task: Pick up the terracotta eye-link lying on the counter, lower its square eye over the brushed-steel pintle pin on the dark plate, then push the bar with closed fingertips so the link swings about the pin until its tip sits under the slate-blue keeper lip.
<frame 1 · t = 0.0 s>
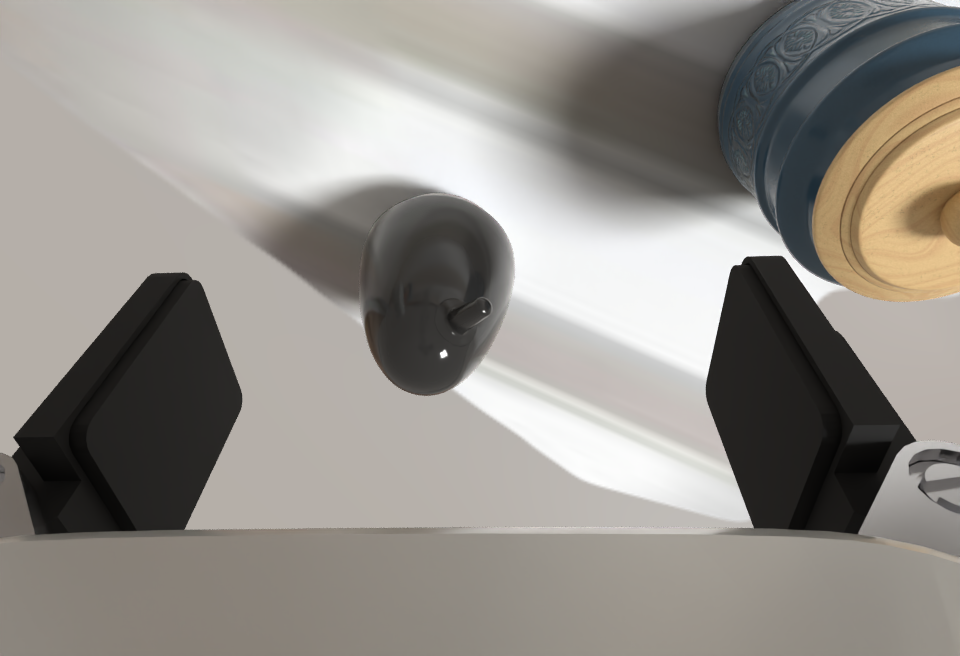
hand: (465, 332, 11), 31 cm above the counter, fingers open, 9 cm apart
canister: (819, 94, 39), on the counter
pump dispenser: (444, 236, 46), on the counter
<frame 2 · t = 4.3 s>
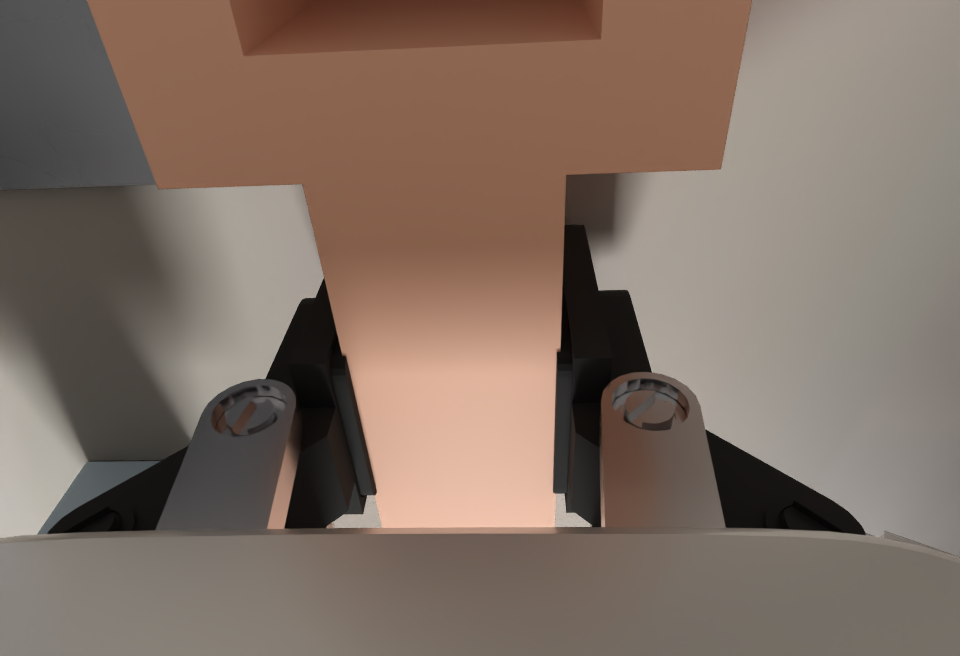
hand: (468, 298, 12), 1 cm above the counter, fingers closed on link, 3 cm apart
link: (469, 284, 13), on the counter, touching gripper
keeper: (160, 492, 17), on the counter
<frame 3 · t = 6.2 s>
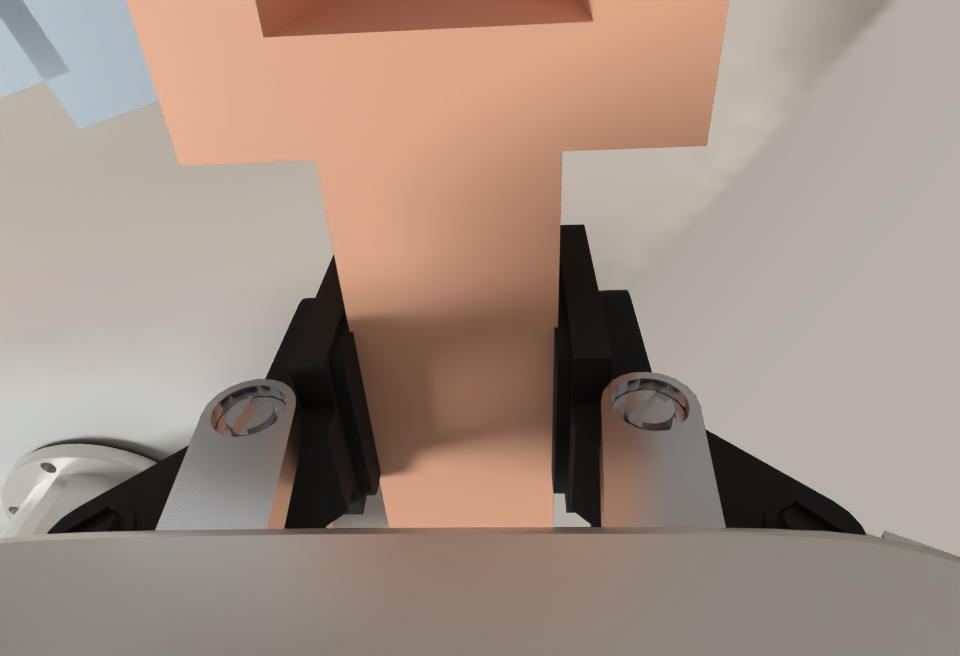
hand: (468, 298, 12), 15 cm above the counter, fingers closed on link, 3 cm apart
link: (470, 277, 13), point 14 cm above the counter, touching gripper
when the fingers open (2 cm above the counter, at t = 8.3 s): link stays where it is, resting on pintle station.
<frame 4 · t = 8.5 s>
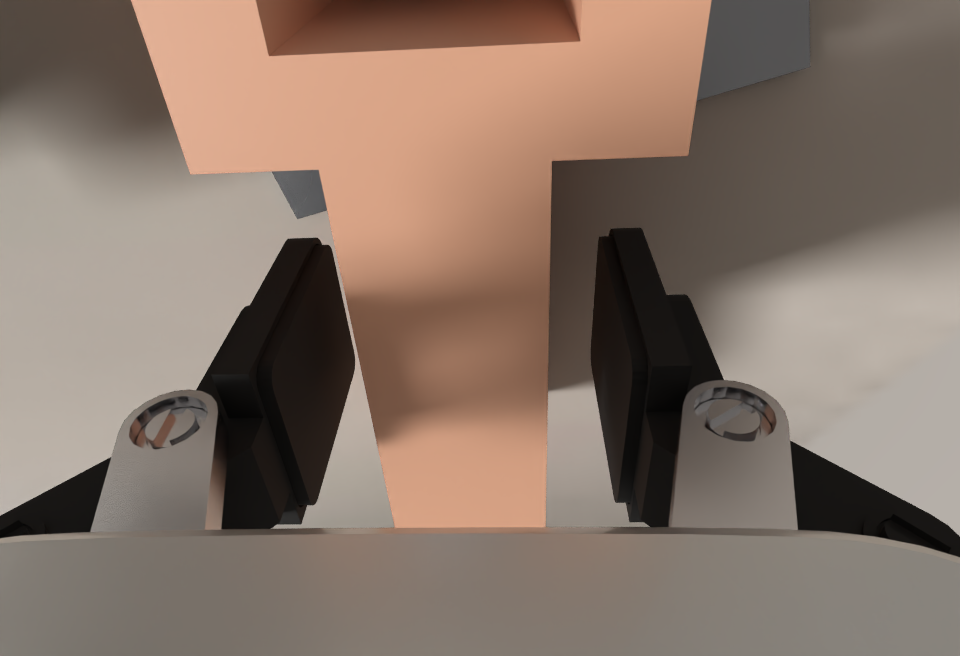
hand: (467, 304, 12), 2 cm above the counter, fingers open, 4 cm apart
link: (467, 268, 14), resting on pintle station
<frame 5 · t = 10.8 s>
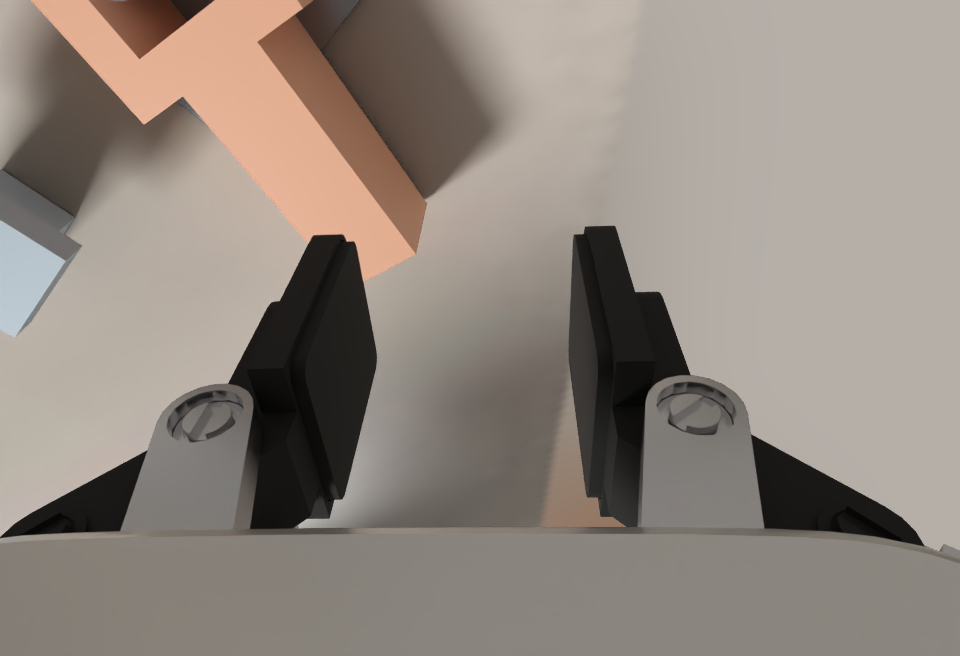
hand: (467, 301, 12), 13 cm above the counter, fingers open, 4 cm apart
link: (334, 136, 24), resting on pintle station
keeper: (27, 213, 26), on the counter
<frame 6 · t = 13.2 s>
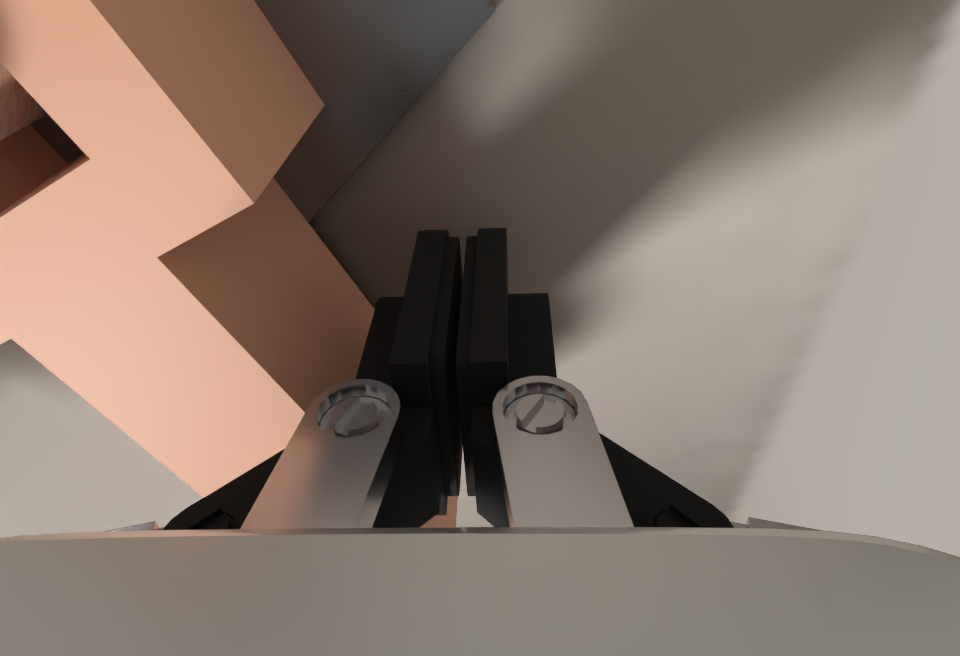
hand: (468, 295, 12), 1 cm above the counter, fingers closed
link: (317, 331, 14), touching gripper
pintle station: (78, 16, 11), on the counter
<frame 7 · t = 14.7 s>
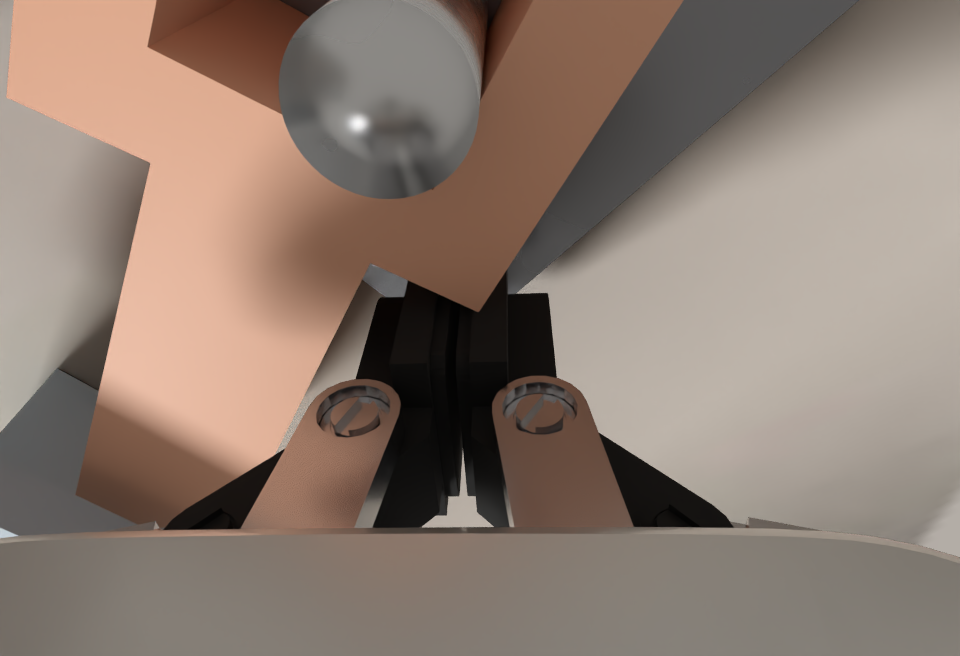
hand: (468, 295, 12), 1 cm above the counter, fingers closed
link: (268, 278, 14), touching gripper, pintle station
keeper: (94, 424, 17), on the counter
pintle station: (429, 7, 11), on the counter
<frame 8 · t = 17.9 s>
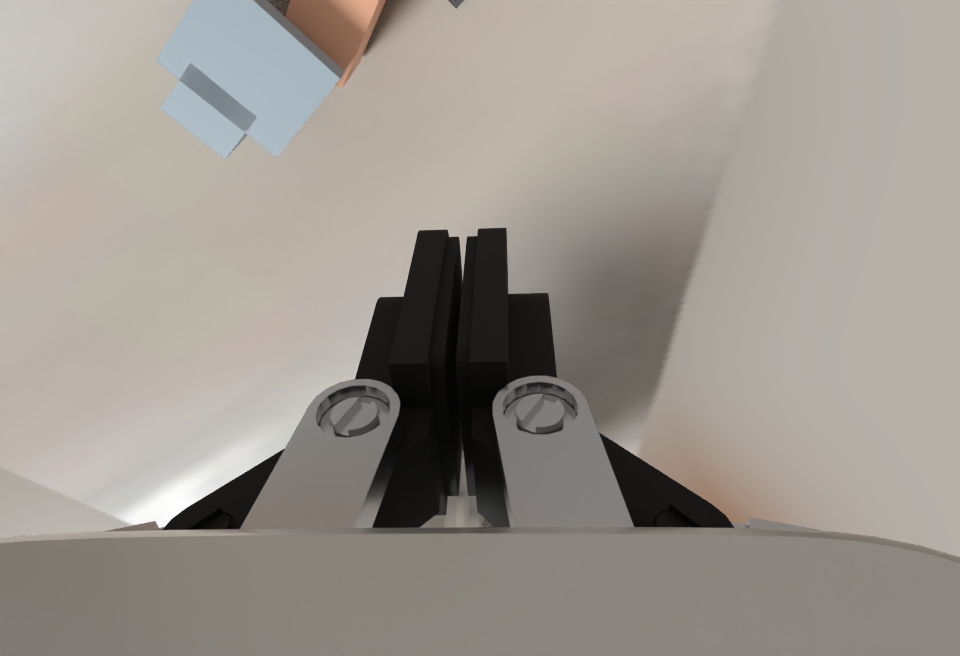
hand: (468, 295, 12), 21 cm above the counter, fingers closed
keeper: (255, 72, 30), on the counter
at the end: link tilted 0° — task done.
